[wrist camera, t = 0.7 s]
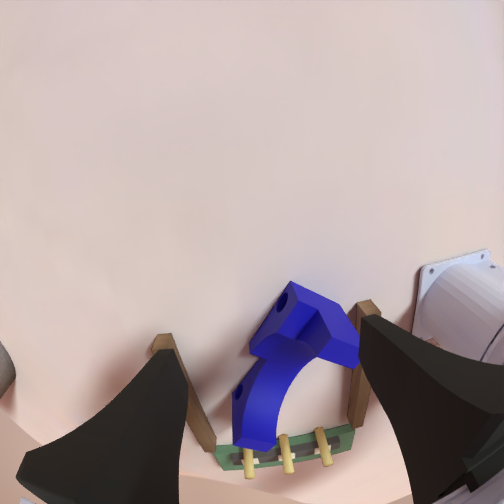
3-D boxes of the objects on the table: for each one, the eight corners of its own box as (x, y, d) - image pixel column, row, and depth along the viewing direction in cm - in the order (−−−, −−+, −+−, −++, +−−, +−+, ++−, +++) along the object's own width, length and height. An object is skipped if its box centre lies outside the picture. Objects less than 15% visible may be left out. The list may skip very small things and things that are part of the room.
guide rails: (370, 299, 20) (381, 312, 18) (357, 413, 25) (362, 426, 23) (157, 334, 20) (151, 350, 18) (205, 438, 25) (204, 452, 23)
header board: (353, 418, 25) (366, 451, 21) (348, 442, 27) (358, 472, 23) (211, 441, 25) (209, 477, 21) (223, 463, 27) (223, 494, 23)
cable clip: (289, 279, 19) (310, 328, 14) (338, 303, 20) (369, 351, 15) (217, 387, 23) (214, 441, 17) (260, 400, 24) (266, 452, 18)
